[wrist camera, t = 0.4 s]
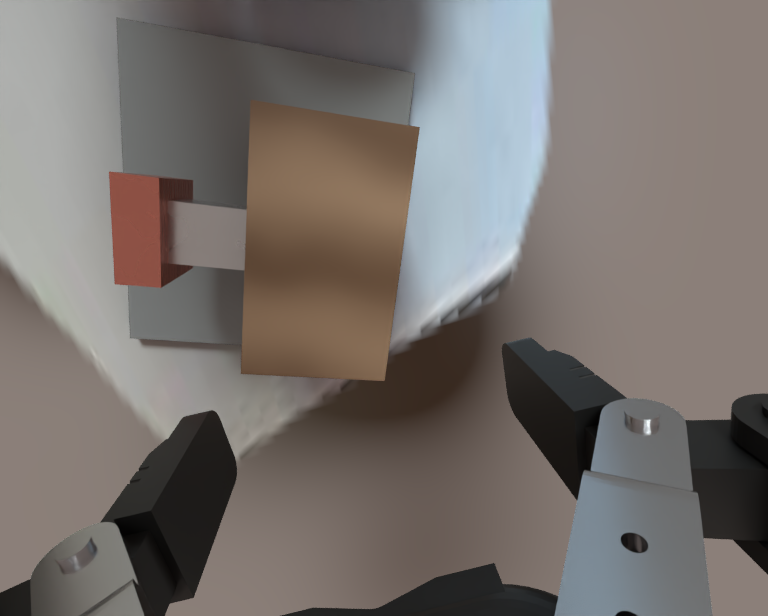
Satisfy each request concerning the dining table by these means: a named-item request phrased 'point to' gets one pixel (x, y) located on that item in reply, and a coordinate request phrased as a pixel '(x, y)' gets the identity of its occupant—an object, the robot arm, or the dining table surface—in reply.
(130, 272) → the red headed square peg
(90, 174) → the dining table surface
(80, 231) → the dining table surface
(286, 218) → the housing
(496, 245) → the dining table surface
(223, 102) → the base mat
